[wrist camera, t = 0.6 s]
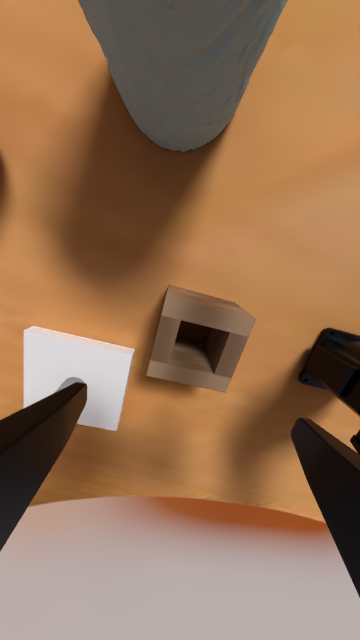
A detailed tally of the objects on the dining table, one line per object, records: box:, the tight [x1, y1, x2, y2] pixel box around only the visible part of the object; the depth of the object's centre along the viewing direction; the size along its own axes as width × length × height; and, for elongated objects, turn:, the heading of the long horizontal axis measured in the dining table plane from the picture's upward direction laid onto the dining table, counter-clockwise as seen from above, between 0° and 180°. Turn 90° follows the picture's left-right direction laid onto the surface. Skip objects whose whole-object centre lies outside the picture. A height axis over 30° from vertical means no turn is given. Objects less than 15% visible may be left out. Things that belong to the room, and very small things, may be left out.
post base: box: [24, 326, 135, 431], centre depth 17 cm, size 10×10×6 cm
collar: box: [146, 285, 256, 393], centre depth 16 cm, size 6×6×5 cm
